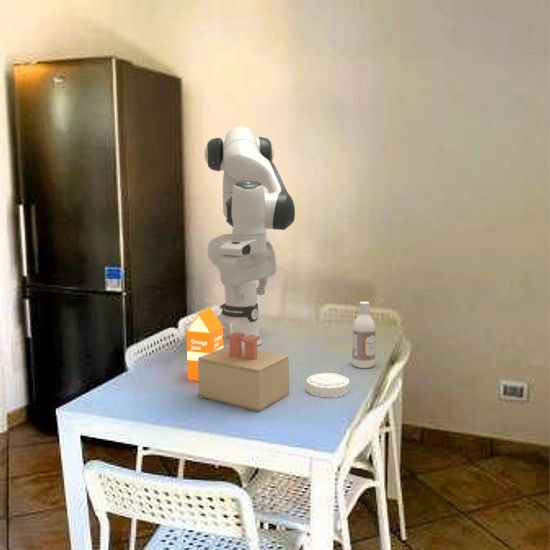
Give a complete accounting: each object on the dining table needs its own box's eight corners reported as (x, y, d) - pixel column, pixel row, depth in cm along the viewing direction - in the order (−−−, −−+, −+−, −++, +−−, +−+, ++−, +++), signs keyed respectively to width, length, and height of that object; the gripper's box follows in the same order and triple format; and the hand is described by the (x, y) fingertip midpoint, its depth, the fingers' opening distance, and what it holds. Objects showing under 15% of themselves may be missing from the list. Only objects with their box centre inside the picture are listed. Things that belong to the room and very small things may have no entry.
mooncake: (358, 393, 168) (358, 380, 167) (323, 401, 161) (323, 388, 161) (331, 380, 178) (331, 368, 177) (297, 388, 171) (297, 376, 171)
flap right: (228, 366, 158) (227, 342, 157) (258, 353, 169) (257, 330, 168) (259, 373, 153) (258, 347, 152) (288, 359, 164) (288, 335, 163)
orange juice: (224, 372, 184) (222, 308, 181) (211, 382, 176) (210, 314, 173) (200, 370, 187) (198, 306, 184) (187, 379, 179) (185, 312, 175)
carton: (198, 396, 165) (197, 360, 164) (230, 381, 177) (229, 348, 175) (259, 411, 154) (259, 373, 153) (289, 394, 166) (288, 359, 164)
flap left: (198, 360, 164) (197, 336, 163) (229, 348, 175) (229, 325, 174) (227, 366, 158) (226, 341, 157) (257, 353, 170) (257, 330, 168)
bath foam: (362, 370, 186) (363, 305, 182) (347, 364, 192) (348, 301, 188) (379, 366, 190) (380, 302, 186) (364, 360, 195) (365, 299, 192)
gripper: (262, 240, 168) (262, 290, 170) (215, 248, 151) (216, 303, 153) (281, 241, 164) (282, 292, 166) (235, 250, 147) (236, 306, 150)
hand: (250, 297), depth 160 cm, fingers open, 8 cm apart
